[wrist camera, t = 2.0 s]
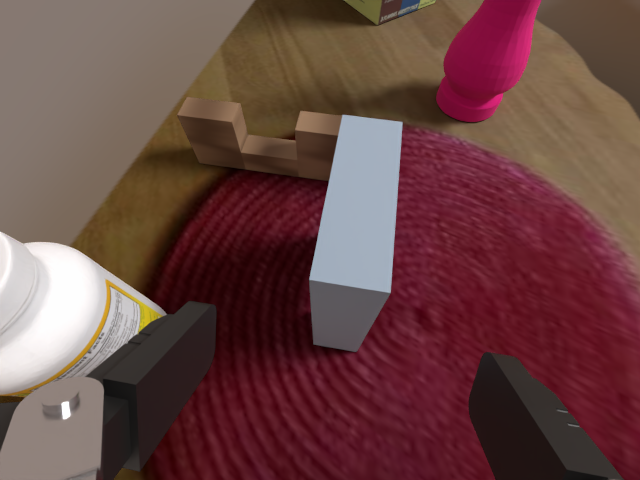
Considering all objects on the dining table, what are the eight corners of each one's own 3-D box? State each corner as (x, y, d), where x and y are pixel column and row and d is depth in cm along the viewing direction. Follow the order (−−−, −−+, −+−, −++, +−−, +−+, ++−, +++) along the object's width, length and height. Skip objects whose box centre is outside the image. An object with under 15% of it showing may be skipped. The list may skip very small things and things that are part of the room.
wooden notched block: (382, 169, 30) (394, 122, 25) (380, 188, 29) (393, 142, 24) (207, 146, 31) (187, 96, 27) (199, 163, 30) (177, 115, 26)
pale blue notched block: (332, 233, 27) (342, 114, 16) (369, 239, 27) (402, 121, 16) (313, 344, 22) (309, 279, 12) (356, 352, 22) (390, 293, 12)
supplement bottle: (60, 346, 22) (-200, 273, 11) (148, 285, 25) (4, 172, 13) (103, 428, 20) (-172, 441, 9) (196, 352, 22) (70, 285, 11)
